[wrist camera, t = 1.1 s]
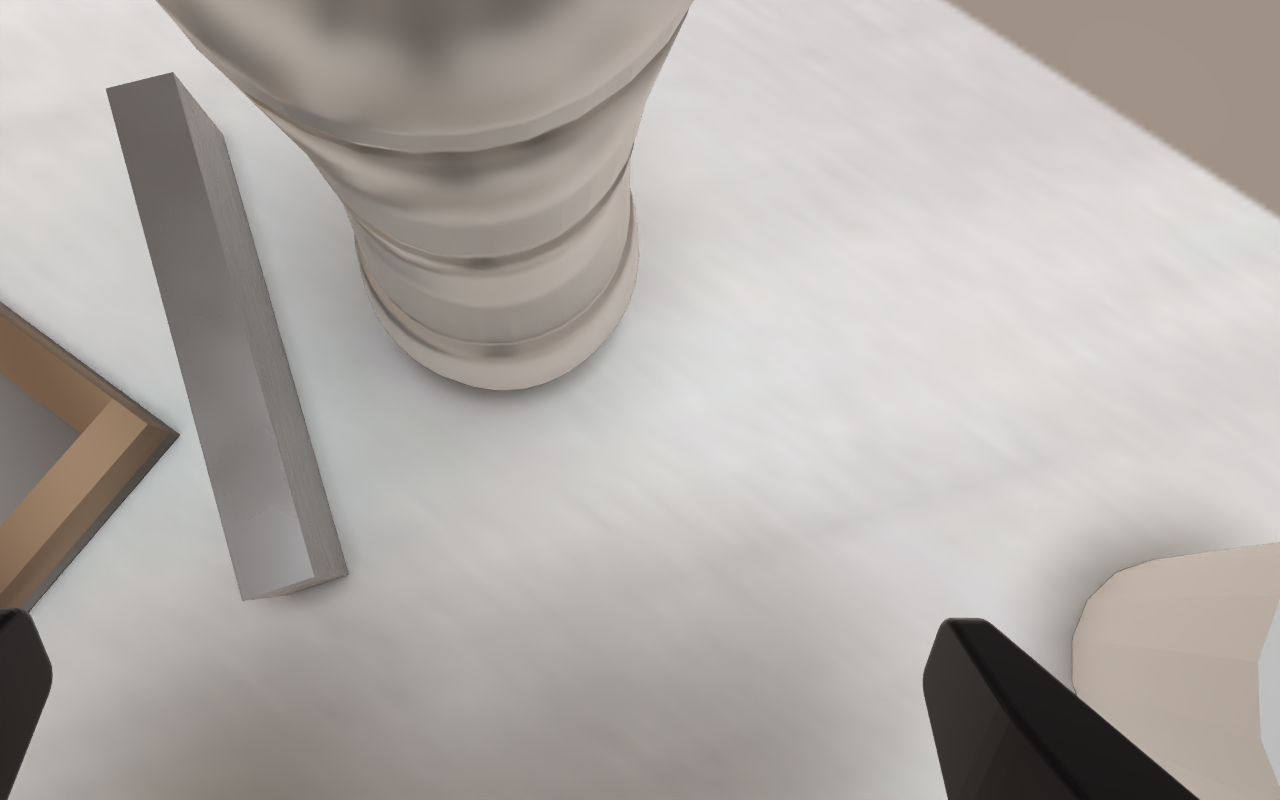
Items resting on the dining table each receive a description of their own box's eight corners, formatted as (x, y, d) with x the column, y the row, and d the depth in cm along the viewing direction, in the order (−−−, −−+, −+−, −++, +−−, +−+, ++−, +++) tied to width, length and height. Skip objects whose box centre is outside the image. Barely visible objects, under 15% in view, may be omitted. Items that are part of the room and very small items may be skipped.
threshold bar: (348, 574, 21) (314, 576, 18) (286, 594, 21) (242, 600, 18) (223, 134, 23) (173, 72, 20) (164, 149, 23) (105, 88, 20)
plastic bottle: (372, 402, 22) (-1127, -849, 2) (393, 152, 23) (-491, -2007, 4) (626, 413, 23) (1061, -540, 3) (634, 169, 24) (978, -1638, 4)
